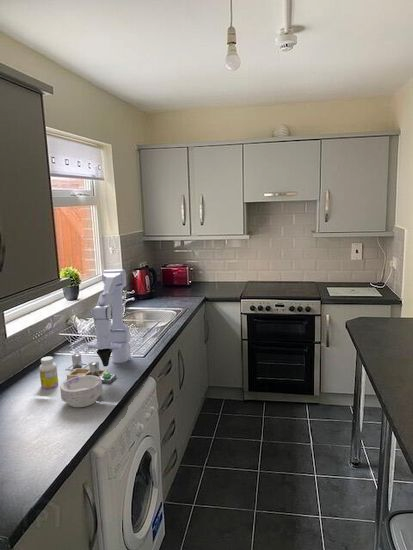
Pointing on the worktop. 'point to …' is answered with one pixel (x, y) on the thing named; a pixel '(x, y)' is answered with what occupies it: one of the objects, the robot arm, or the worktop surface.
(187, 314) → the worktop surface
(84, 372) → the wooden compartment tray
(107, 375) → the button
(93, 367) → the seated billet
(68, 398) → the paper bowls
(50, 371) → the supplement bottle
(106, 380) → the grey square socket block
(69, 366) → the tray
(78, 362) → the billet
